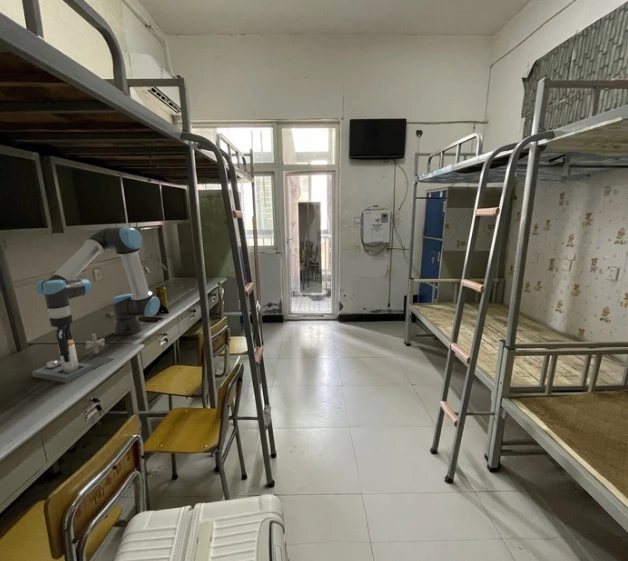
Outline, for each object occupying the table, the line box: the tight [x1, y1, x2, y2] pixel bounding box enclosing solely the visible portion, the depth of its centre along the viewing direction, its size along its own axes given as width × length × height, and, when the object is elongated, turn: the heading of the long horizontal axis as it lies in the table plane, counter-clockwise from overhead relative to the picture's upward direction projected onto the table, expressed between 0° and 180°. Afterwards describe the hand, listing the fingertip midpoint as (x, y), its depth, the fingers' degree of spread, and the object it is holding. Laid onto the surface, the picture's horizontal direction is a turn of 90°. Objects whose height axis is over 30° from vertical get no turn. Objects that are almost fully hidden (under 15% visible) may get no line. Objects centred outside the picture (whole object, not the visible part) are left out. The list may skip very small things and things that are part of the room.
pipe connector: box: [85, 333, 106, 354], centre depth 162 cm, size 10×10×10 cm
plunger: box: [46, 359, 59, 370], centre depth 143 cm, size 4×4×4 cm
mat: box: [83, 356, 115, 370], centre depth 152 cm, size 10×10×1 cm
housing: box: [32, 359, 94, 384], centre depth 142 cm, size 12×20×2 cm, turn 73°
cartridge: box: [57, 338, 79, 375], centre depth 139 cm, size 6×6×15 cm
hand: (70, 365), depth 140 cm, fingers closed on cartridge, 6 cm apart
